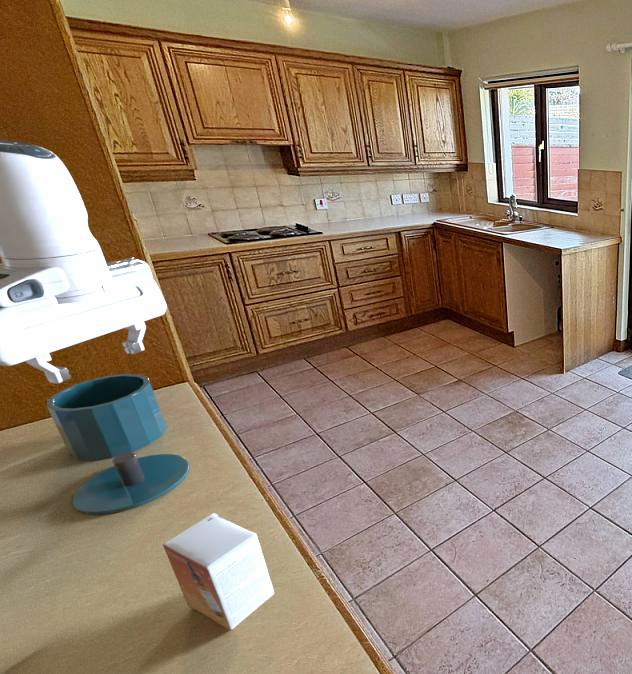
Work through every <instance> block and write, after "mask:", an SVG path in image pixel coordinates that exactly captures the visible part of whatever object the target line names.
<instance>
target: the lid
mask: <svg viewBox="0 0 632 674" xmlns="http://www.w3.org/2000/svg"><path fill="white" fill-rule="evenodd" d="M111 463H112V464H113V466H112V467H109V468H107V469H105V470H103V471H101V472H100V473H97V474H96V475H95V476H93V477H91V478H90V479H88V480H87V481H86V482H85V483H83V484H82V485H80V487H79V488H78V489H77V490H76V492H75V493H74V494H73V497H72V505H73V507H74V509H75V510H76V511H77V512H80V513H82V514H85V515H93V516H97V515H99V516H101V515H109V514H115V513H121V512H125V511H128V510H130V509H131V510H132V509H134V508H136V507H140V506H143V505H145V504H148V503H150V502H152V501H155V500H156V499H159V498H161V497H162V496H164V495H166V494H168V493H169V492H170V491H172V490H174V489H175V488H176V487H177V486H178V485H180V484H181V483H183V481H184V479H185V478H186V477H187V476H188V474H189V471H190V463H189V461H188V460H187V459H186V458H185V457H184V456H181V455H179V454H175V453H173V454H172V453H159V454H150V455H145V456H141V457H137V455H136V453H134V452H131V453H125V454H122V455H119V456H117V457H114V458H112V462H111Z"/></svg>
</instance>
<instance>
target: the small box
mask: <svg viewBox="0 0 632 674" xmlns="http://www.w3.org/2000/svg"><path fill="white" fill-rule="evenodd" d="M162 547H163V549H164V551H165V554H166V555H167V556H166V557H167V558H168V561H169V563H170V566H171V569H172V570H173V573H174V576H175V578H176V580H177V583H178V585H179V587H180V591H181V593H182V595H183V597H184V600H185V602H186V605H187V606H188V607H189V608H191V609H193V610H196V611H197V612H199V613H200V614H202V615H204V616H206V617H207V618H209V619H211V620H212V621H213V622H215V623H217V624H219V625H220V626H222V627H224V628H225V629H227V630H229V631H232V630H233V629H235V628H236V627H237V626H238V625H240V623H242V622H244V620H245V619H247V618H248V617H249V616H250V615H252V613H253V612H255V611H256V610H257V609H258V608H260V607H261V606H262V605H263V604H264V603H265V602H266V601H268V600H269V599H270V598H272V596H274V594H275V590H274V586H273V583H272V580H271V577H270V574H269V571H268V567H267V564H266V560H265V557H264V554H263V551H262V546H261V544H260V541H259V538H258V534H257V533H256V532H253V531H251V530H249V529H246V528H244V527H242V526H240V525H238V524H236V523H233V522H232V521H229V520H227V519H225V518H223V517H222V516H220V515H219V514H217V513H215V512H213V513H211V514H209V515H208V516H206V517H204V518H202V519H201V520H200V521H198V522H196V523H195V524H193V525H192V526H189V527H187V529H185V530H183V531H182V532H180V533H179V534H177V535H175V536H174V537H172V538H170V539H169V540H168V541H166V542H164V543H163V544H162Z"/></svg>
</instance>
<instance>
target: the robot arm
mask: <svg viewBox="0 0 632 674" xmlns="http://www.w3.org/2000/svg"><path fill="white" fill-rule="evenodd" d="M88 220H89V216H88V211H87V209H86V206H85V203H84V201H83V199H82V195H81V194H80V190H79V189H78V187H77V184H76V183H75V181H74V179H73V177H72V175H71V174H70V171H69V170H68V168H67V167H66V165H65V163H64V162H63V161H62V160H61V159H60V157H58V156H57V155H56V154H55V153H54V152H53V151H52V150H49V149H47V148H44V147H43V146H40V145H37V144H33V143H29V142H23V141H16V140H10V139H7V140H6V139H0V259H1V263H0V366H3V367H11V366H15V365H17V364H21V363H24V362H25V363H26V364H27V365H29V366H31V367H33V368H36V369H37V370H39V371H41V372H43V373H44V375H45V378H46V380H47V382H49V383H51V384H56V385H59V384H60V383H63V382H66V381H68V380H70V379H72V375H71V374H70V371H69V369H68V367H66V366H60V365H55V366H54V365H52V364H51V363H49V362H50V361H52V357H51V356H52V355H51V354H50V353H53V352H57V351H59V350H63V349H65V348H68V347H72V346H75V345H77V344H80V343H83V342H86V341H89V340H93V339H95V338H99V337H101V336H104V335H107V334H110V333H113V332H117V331H120V330H122V329H124V330H125V329H126V330H128V334H127V338H126V339H127V340H125V341H122V342H121V344H122V347H123V348H124V349H123V350H124V352H125V353H126V354H131V355H136V354H138V353H140V352H143V351H145V346H144V343H143V340H144V336H145V334H146V329H147V325H146V322H147V321H149V320H153V319H156V318H158V317H162V316H164V315H165V314H166V311H167V309H168V305H167V302H166V300H165V298H164V295H163V293H162V291H161V289H160V287H159V286H158V284H157V282H156V280H155V279H154V276H153V273H152V269H151V267H150V265H149V264H148V263H147V262H145V261H144V260H141V259H136V258H135V257H128V258H124V259H121V260H115V261H109V262H107V261H106V258H105V255H104V254H103V251H102V248H101V245H100V244H99V242H98V240H97V239H96V238H95V237H94V236H93V234H92V232H91V230H90V228H89V224H88V223H89V221H88Z"/></svg>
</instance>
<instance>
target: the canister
mask: <svg viewBox="0 0 632 674" xmlns="http://www.w3.org/2000/svg"><path fill="white" fill-rule="evenodd" d="M46 402H47V403H46V407H47V411H48V412H49V415H50V416H51V419H52V420H53V422H54V424H55V427H56V428H57V431H58V433H59V435H60V437H61V439H62V441H63V443H64V445H65V448H66V449H67V451H68V453H69V454H70V457H72V458H75V459H76V460H78V461H90V462H93V461H95V462H96V461H102V460H108V459H114V458H116V457H117V456H119V455H122V454H125V453H134V452H136V451H138V450H141V449H142V448H145V447H146V446H150V445H151V444H152V443H153V442H155V441H157V440H158V439H160V438H161V437H162V436H163V435H164V434H165V432H166V431H167V430H168V426H167V422H166V419H165V417H164V414H163V412H162V410H161V406H160V404H159V401H158V399H157V396H156V393H155V391H154V388H153V386H152V383H151V380H150V378H149V377H148V376H146V375H143V374H137V373H136V374H135V373H122V374H113V375H111V374H110V375H105V376H101V377H96V378H93V379H88V380H85V381H82V382H79V383H76V384H72V385H70V386H68V387H66V388H64V389H62V390H60V391H58V392H55V394H53V395H52V396H51V397H50V398H48V399H47V401H46Z"/></svg>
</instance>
